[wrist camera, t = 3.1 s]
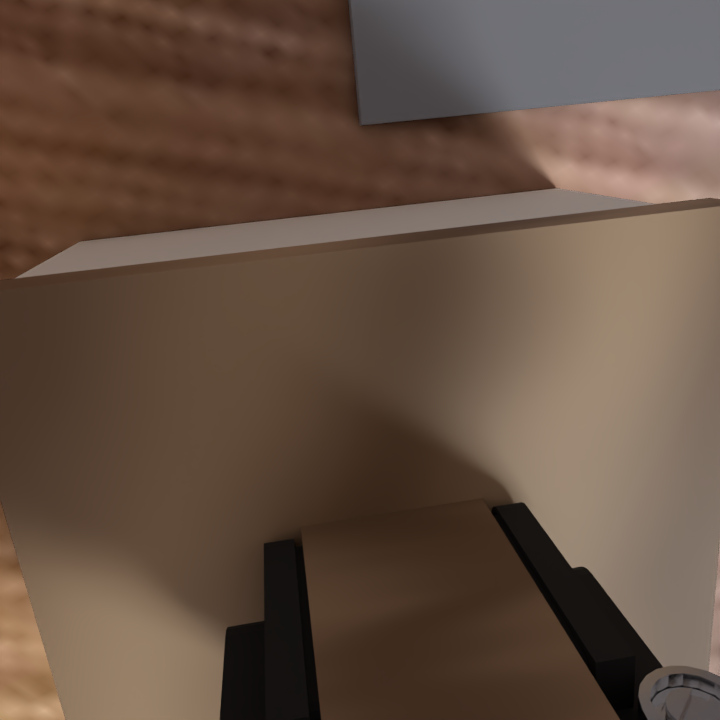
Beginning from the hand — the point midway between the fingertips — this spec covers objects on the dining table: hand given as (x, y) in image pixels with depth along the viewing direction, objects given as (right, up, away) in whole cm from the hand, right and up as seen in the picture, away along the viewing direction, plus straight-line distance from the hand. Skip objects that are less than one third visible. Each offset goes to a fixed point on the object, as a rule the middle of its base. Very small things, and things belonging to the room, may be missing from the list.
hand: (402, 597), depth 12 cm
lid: (0, 0, +1) cm, 1 cm away
